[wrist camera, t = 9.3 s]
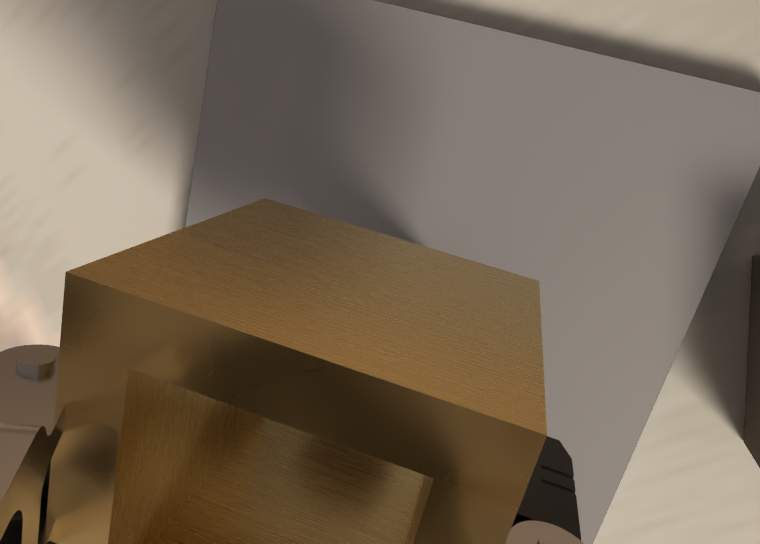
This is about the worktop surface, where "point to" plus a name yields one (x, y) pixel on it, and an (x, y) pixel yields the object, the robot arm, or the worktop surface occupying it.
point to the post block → (496, 180)
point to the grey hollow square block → (753, 368)
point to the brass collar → (294, 389)
